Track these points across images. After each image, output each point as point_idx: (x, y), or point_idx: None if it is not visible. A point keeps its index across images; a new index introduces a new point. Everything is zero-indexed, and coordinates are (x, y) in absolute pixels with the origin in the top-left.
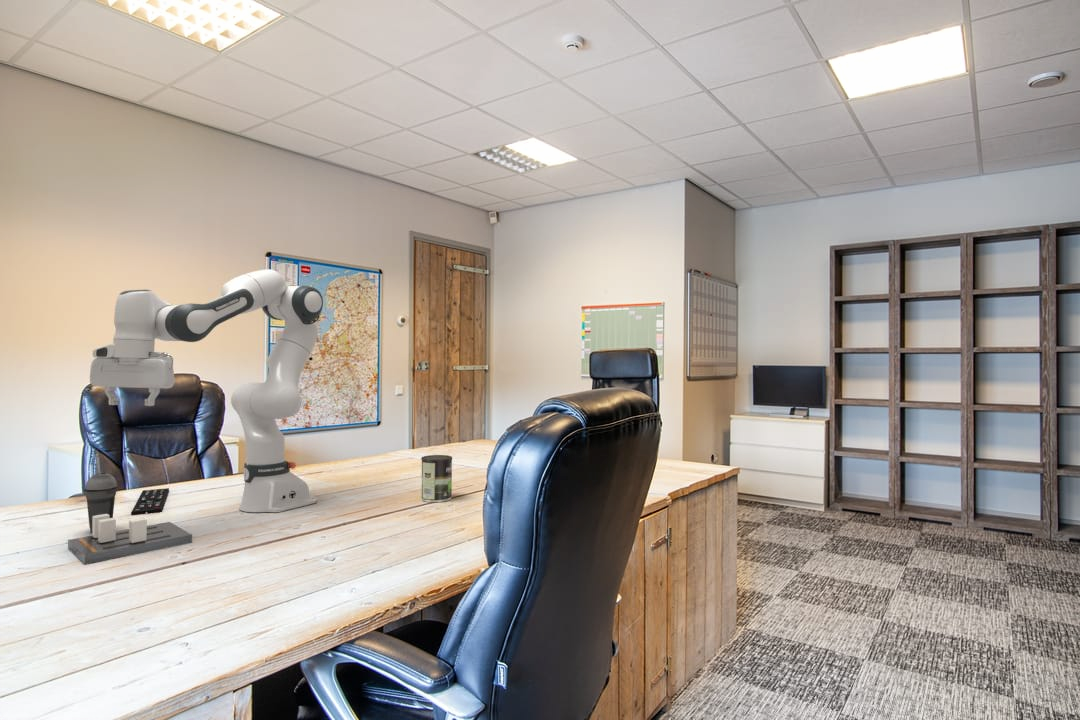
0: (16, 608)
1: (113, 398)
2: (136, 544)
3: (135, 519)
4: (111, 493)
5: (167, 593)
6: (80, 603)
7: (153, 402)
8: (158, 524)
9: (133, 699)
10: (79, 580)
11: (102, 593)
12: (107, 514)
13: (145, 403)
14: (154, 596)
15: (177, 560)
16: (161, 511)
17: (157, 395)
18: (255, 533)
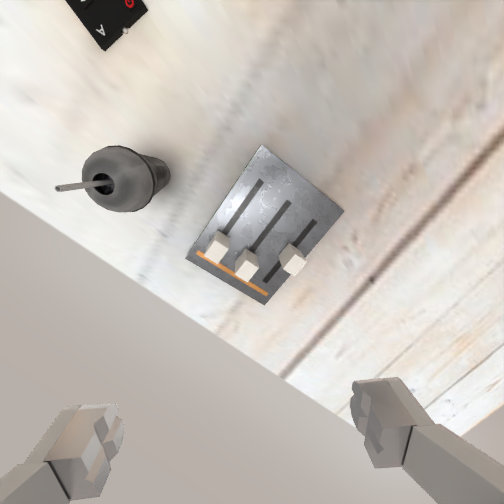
0: (293, 381)
1: (94, 494)
2: None
3: (288, 263)
4: (155, 182)
5: (396, 345)
6: (336, 368)
7: (409, 403)
8: (254, 164)
9: None
10: (295, 333)
11: (339, 352)
12: (220, 244)
13: (365, 428)
14: (388, 351)
15: (359, 273)
16: (146, 9)
17: (490, 457)
18: (417, 149)
